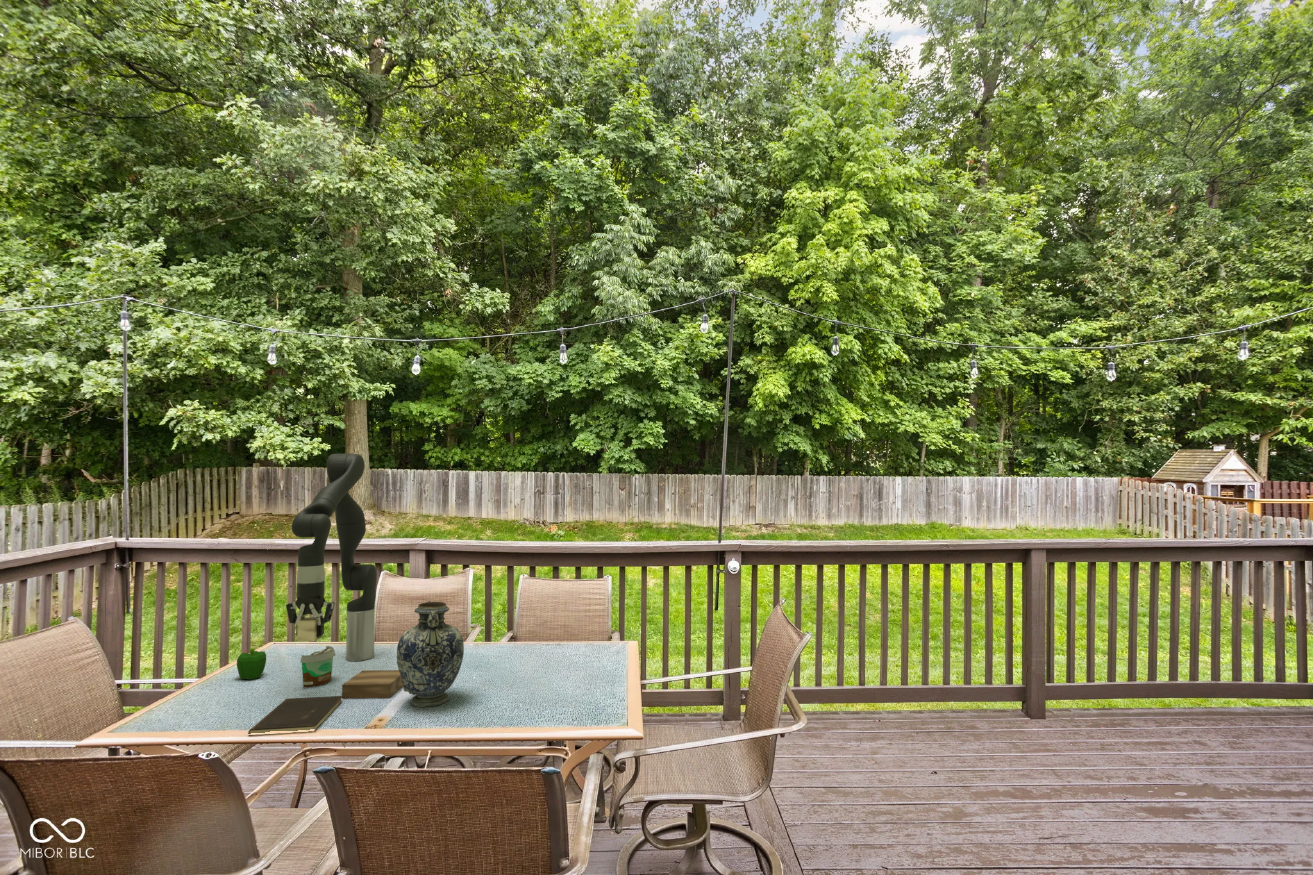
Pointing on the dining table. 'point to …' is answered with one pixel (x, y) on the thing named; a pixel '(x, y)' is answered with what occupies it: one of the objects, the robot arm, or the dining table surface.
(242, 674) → the bell pepper
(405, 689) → the decorative vase
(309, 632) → the maple block
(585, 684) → the dining table surface
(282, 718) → the hardcover book
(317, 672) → the half round tub
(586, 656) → the dining table surface
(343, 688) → the block
